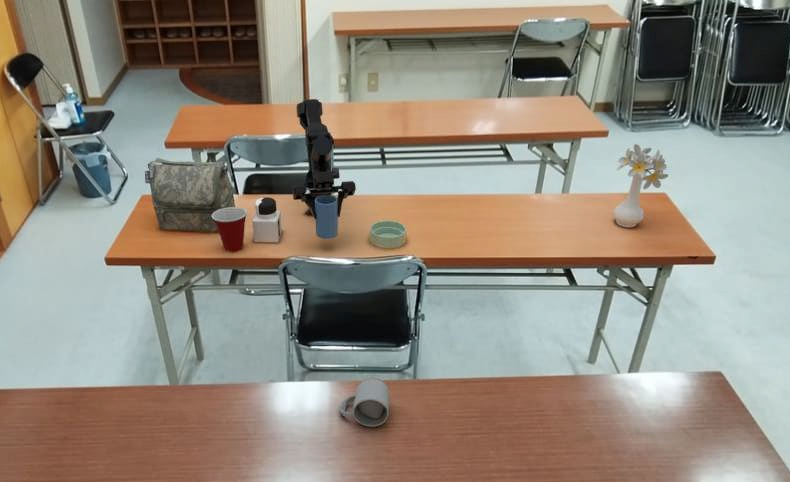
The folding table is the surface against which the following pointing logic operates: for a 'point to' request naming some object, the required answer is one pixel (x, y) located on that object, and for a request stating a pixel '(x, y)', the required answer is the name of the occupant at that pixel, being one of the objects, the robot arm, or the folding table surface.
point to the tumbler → (326, 216)
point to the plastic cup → (231, 227)
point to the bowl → (387, 234)
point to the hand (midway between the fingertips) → (327, 217)
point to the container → (267, 221)
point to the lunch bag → (188, 193)
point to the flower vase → (638, 183)
